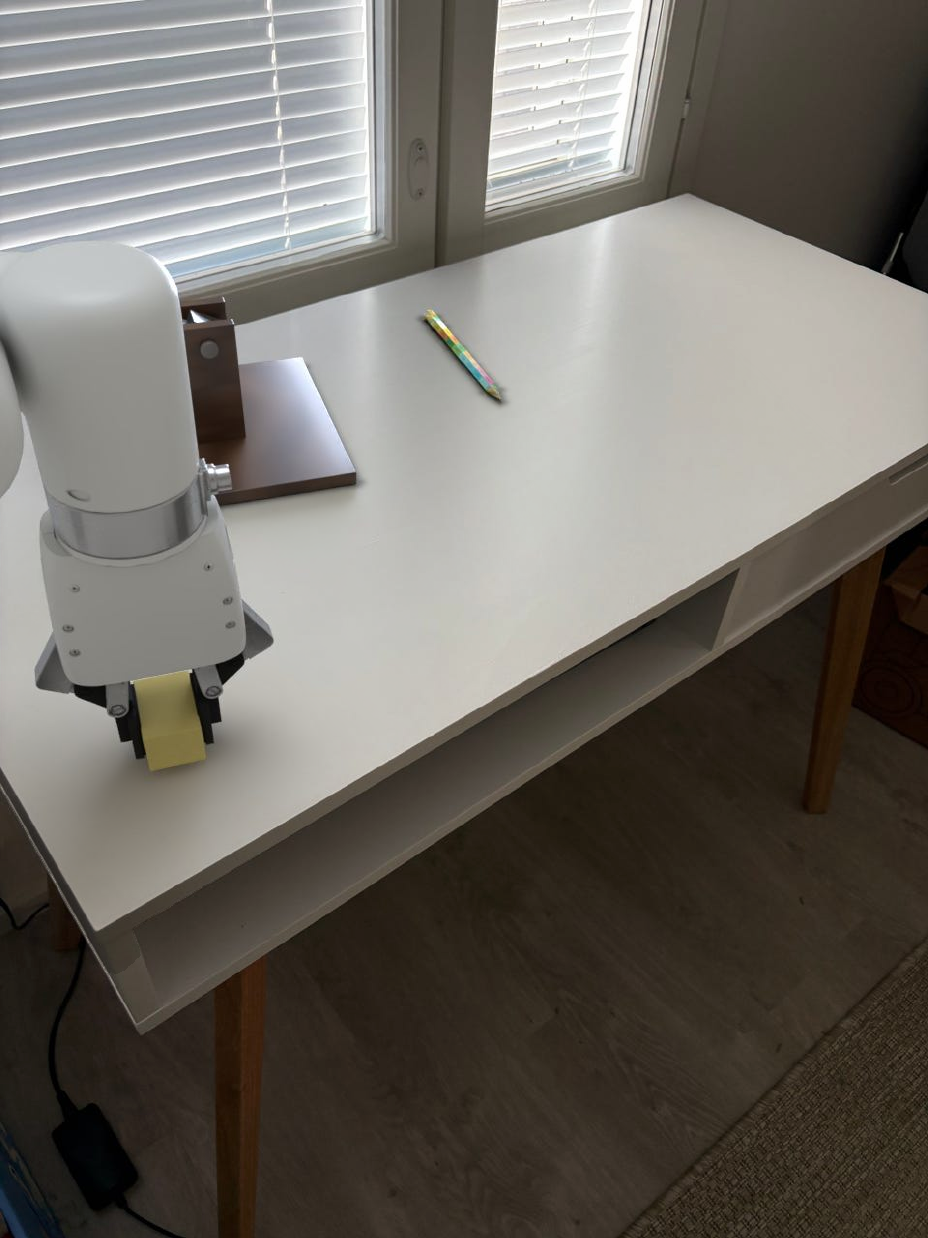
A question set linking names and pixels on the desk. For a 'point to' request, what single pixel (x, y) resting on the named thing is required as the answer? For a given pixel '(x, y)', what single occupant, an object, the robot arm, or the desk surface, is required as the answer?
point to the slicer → (258, 415)
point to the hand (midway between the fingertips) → (172, 733)
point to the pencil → (462, 354)
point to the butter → (169, 721)
